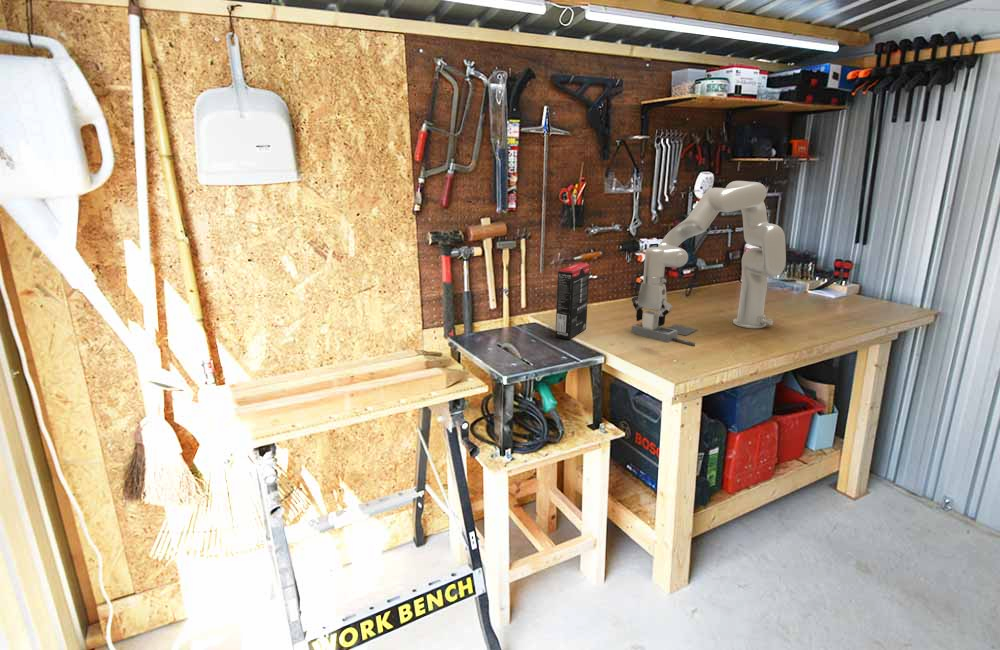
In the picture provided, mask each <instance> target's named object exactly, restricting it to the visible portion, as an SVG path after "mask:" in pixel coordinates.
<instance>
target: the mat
mask: <svg viewBox="0 0 1000 650" xmlns="http://www.w3.org/2000/svg"><path fill="white" fill-rule="evenodd" d="M667 328H670V329H674V330H678V336H679V335H680V336H683V337H687V336H689V335H691V334H693V332H694V333H696V332H698V331H699V329H698V328H693V327H689V326H685V325H679V324H673V325H670V326H669V327H667ZM697 330H698V331H697ZM695 331H696V332H695Z"/></svg>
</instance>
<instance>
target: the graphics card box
mask: <svg viewBox="0 0 1000 650" xmlns="http://www.w3.org/2000/svg"><path fill="white" fill-rule="evenodd" d="M590 269H591V268H590V263H585V262H577V263H574V264H572V265H569V266H567V267H564V268H562V269H559V270H557V285H556V286H557V288H556V289H557V291H556V293H557V294H556V314H555V338H560V339H565V340H571V339H573V338H575V337H576V336H577V335H578V334H581V332H583V331H585V330H586V329H587V321H588V319H587V318H588V304H589V303H588V302H589V284H590V281H589V280H590Z"/></svg>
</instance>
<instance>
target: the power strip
mask: <svg viewBox="0 0 1000 650" xmlns="http://www.w3.org/2000/svg"><path fill="white" fill-rule="evenodd" d="M642 323H643V321H638V322H636V324H633V325H631V334H632V333H634V334H633V335H636V334H638V335H637V336H640V335H641V337H644V336H645V337H644V338H648V337H649V339H652V340H656V341H660V342H664V343H668V344H669V343H670V342H672V341H673V342H677V343H680V344H683V345H688V346H693V347H694V346H696V342H693V341H688V340H686V339H685V340H684V339H680V338H678V336H679V334H678V330H674V329H670V328H668V327H665V326H658V328H656V329H654V330H650V329H646V328H642Z"/></svg>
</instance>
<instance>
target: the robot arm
mask: <svg viewBox="0 0 1000 650" xmlns="http://www.w3.org/2000/svg"><path fill="white" fill-rule="evenodd" d="M766 197H767V188H766V186H765V185H764V184H762V182H756V181H746V180H733V181H731V182H729V183H728V184H727V185H726V186H725V187H724V188H723V187H711V188H708V189H707V190H706V191H705V192H704V193H703V194H702V196H701V198H700V199H699V200H698V202H697V203H696V205H695V206H694V207H693V208H692V210H691V211H690V213H689V214H688V216H687V217H686V218H685V219H684V220H682V221H681V222H680V223H678V224H677V225H676V226H675V227H673V228H672V229H671V230H669V232H668V233H667V234H665V235H664V237H663V239H661V241H660V242H659V245H658V246H655V247H653V246H652V247H648V248H646V249H645V253H644V266H643V267H644V268H643V280H642V282H641V284H640V286H639V292H638V296H636V297H632V298H631V303H632V306H633V307H634V309H635V311H636V312H635V313H636V314H635V315H636V316H635V318H636V319H635V320H636V321H637V322H640V321H643V313H644V310H643V309H646V310H647V309H648V310H650V311H655V312H658V313H659V320H658V326H661V327H663V326H664V325H665V321H666V316H667V315H668V314H669V313H670V312H671V310H672V309H673V305H672V304H671V303H670V302H668V301H667V288H666V283H667V279H666V278H665V268H666V267H668V268H681V267H684V266H685V264H687V263H688V261H689V254H688V252H687V251H686V250H685V249H683V248H682V247H679V246H680V245H681V244H682V243H683V242H684V241H686V240H688V239H690V238H692V237H696V236H698V235H701V234H702V233H705V232H706V231H707V229H709V227H710V226H711V224H712V222H713V221H714V220H715V219H716V217H717V216H718V214H719V213H720V212H721V213H734V212H739V211H741V216H742V226H743V238H744V241H745V243H746V244H748V245H749V246H753V247H751V248H749V249H746V250H745V252H744V253H743V255H742V257H741V273H742V274H741V275H742V276H741V287H740V294H739V302H738V310H737V317H735V318H734V319H732V323H733V325H735V326H738V327H741V328H744V329H745V328H746V329H762V328H765V327H767V325H769V326H773V323H774V320H773V319H772V318H768V317H766V316H767V315H766V314H764V312H765V311H764V310H765V304H766V297H767V288H768V277H777V276H779V275H781V274H782V273H783V271H784V270H785V267H786V262H787V256H786V255H787V254H786V253H787V252H786V250H787V249H786V235H785V231H784V229H783V228H782V227H781V226H780V225H778V224H774V223H769V221H768V213H767V208H766V204H765V202H764V201H765V199H766Z"/></svg>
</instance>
